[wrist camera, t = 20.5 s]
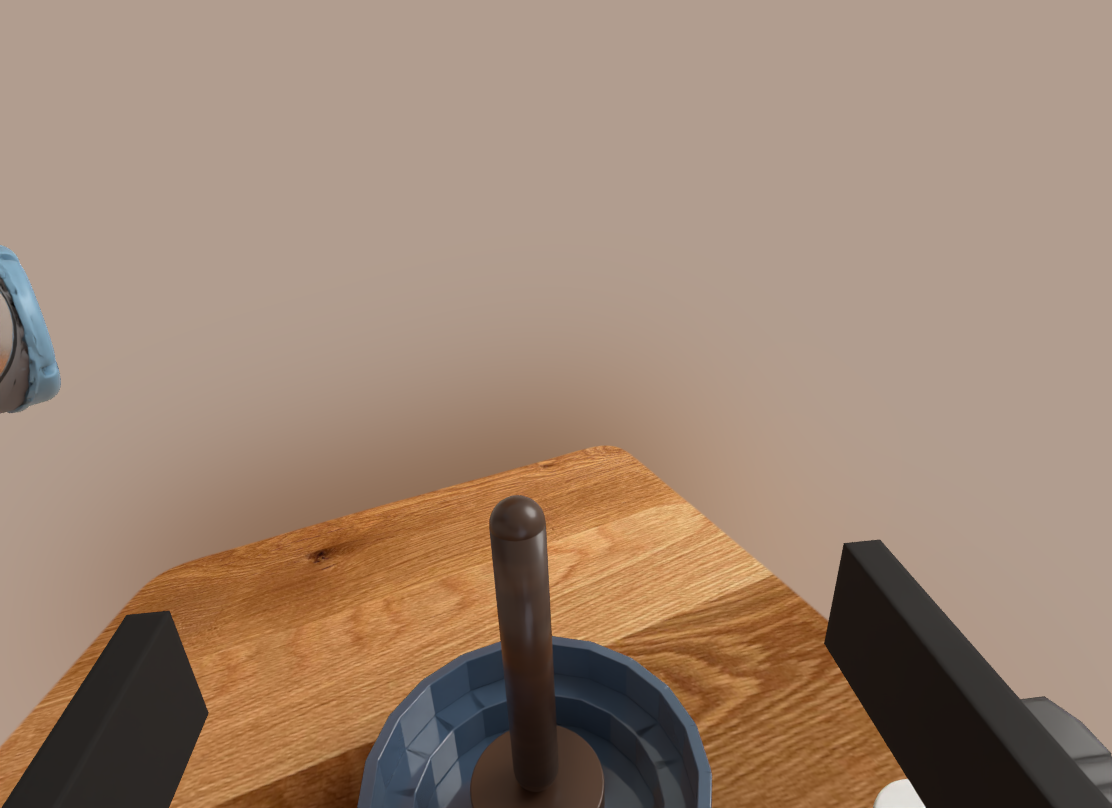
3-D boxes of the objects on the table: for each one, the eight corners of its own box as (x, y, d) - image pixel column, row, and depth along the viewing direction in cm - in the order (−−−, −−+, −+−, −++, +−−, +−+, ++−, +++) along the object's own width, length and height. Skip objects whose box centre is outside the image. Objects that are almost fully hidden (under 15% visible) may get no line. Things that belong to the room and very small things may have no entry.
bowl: (310, 986, 27) (283, 917, 24) (448, 682, 40) (438, 619, 38) (698, 1095, 23) (708, 1026, 21) (708, 725, 37) (714, 658, 34)
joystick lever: (458, 882, 29) (399, 544, 21) (498, 760, 35) (463, 450, 26) (592, 914, 28) (584, 565, 20) (613, 781, 33) (613, 463, 25)
